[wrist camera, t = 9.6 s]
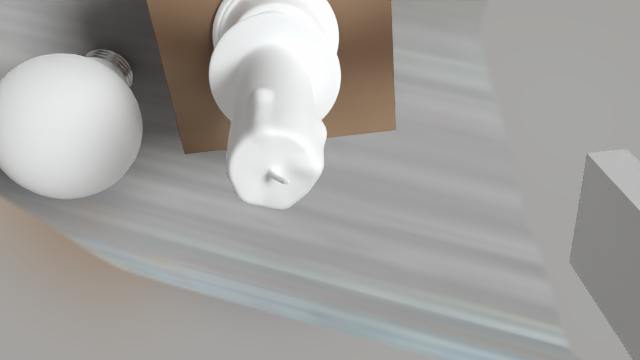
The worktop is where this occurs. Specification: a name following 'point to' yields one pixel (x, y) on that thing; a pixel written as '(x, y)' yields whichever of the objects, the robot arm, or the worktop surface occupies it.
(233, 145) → the candle
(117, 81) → the light bulb
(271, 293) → the worktop surface
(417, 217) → the worktop surface
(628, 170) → the robot arm
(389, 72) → the small wooden table
